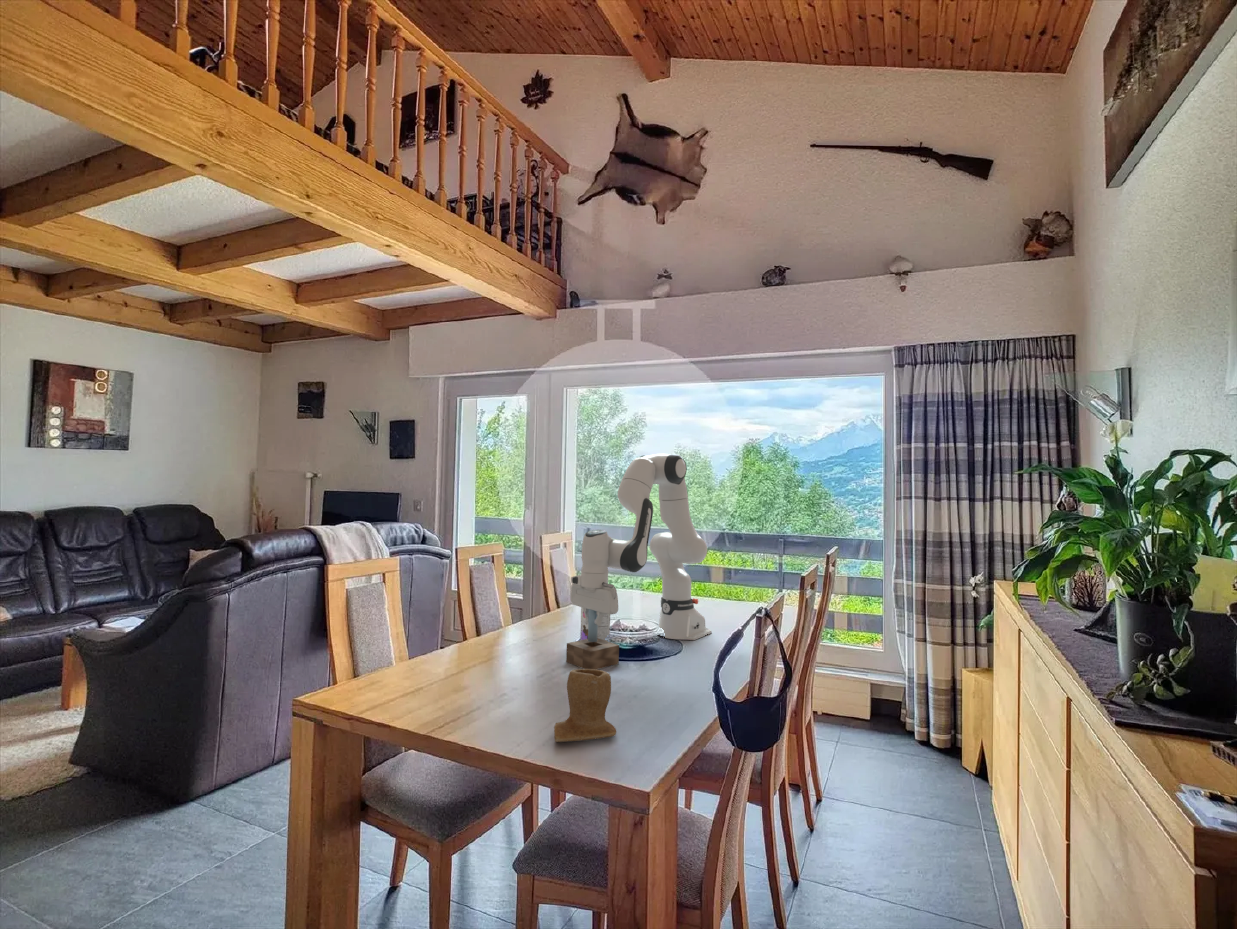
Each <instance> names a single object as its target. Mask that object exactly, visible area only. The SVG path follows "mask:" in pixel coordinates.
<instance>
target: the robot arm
mask: <svg viewBox="0 0 1237 929" xmlns="http://www.w3.org/2000/svg"><path fill="white" fill-rule="evenodd" d="M687 470H688V468H687V463H686V460H685V459H684V458H683V456H681V455H680V454H677V453H676V454H675V453H671V454H670V453H669V454H668V453H655V454H649V455H639V456H637V457H635V458H634V459H633V460H632V461H631V462H630V463H629V465H628V467H627V468H626V470H625V472H624V474H623V476H622V478H621V482H620V484H619V487H618V490H617V499H618V501H619V503H620V504H621V505H622V506H623V507H624V508H625V509H626V510H627V511H629V512H630V513H632V514H634V515H635V517H636V518H635V524H634V529H633V533H632V537H631V538H630V539H628V540H623V539H615V538H613V537H611V536H610V535H609V534H608V532H607V531H606V530H604V529H593V530H592V529H591V530H589V531H587V532H585V534H584V536H583V539H582V545H581V561H582V566H581V570H580V574H578V575H574V576H571V578H570V583H571V586H570V595H569V596H570V597H569V598H570V603H571V605H573V606H575V607H580V608H581V607H583V611H584V614H585V616H586V622H588V621H589V609H591V610H594V611H597V615H598V616H597V618H596V619H594V624H595V625H601V619H602V618H603V616H604V613H605V614H609V615H610V616H611V615H616V614H617V613H618V611H619V597H618V593H617V588H616V587H615V585H614V584H613V583H609V569H610V568H611V569H615V570H623V571H625V572H630V573H637V572H639V571H640V570H642V569H643V568H644V567H645V565H646V564H647V560H648V545H649V550H650V552H651V554H652V555H653V556H654V558H655V560H656V561H657V563H658V566H659V569H660V572H661V578H662V579H661V580H662V582H661V583H662V587H661V588H662V589H661V590H662V592H661V593H662V594H661V598H660V608H661V609H660V612H659V619H658V627H660V628H662V629H663V630H664V633H665V639H670V640H688V641H689V640H690V641H695V640H698V639H701V638H702V637H706V636H708V635H710V634H712V630H711V629H710V628H707V627H706V626H707V625H706V619H705V617H704V616H703V614H701V613H700V612H699V611H698V610H697V609H696V608H695V606H694V604H695V605H698V604H699V602H700V601H699V599H698V598H694V597H693V598H692V578H691V576H690V575H689V573H688V572H687V571H686V570H685V567H684V564H686V565H692V564H693V565H694V564H700V563H702V562H703V561H704V560H705V559H706V557H707V553H708V545H707V543H706V541H705V540H704V538H702V537H701V535H699V534H698V532H697V529H696V528H695V526H694V524H693V520H692V518H691V514H690V505H689V496H688V487H687V484H686V479H685V477H686V475H687ZM654 485H658V501H659V502H658V504H659V513H660V519H661V521H662V523H663V524H664V525H666V526H667V528H668V530H669V531H663V532H658V533H655V534H654V535H653V536H652V538H651V539H650V534H651V528H652V522H653V517H654V516H653V514H654V505H653V502H652V500H650V497H651V493H652V489H653V486H654ZM649 539H650V543H649ZM608 568H609V569H608ZM707 634H708V635H707ZM705 635H706V636H705Z"/></svg>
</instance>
